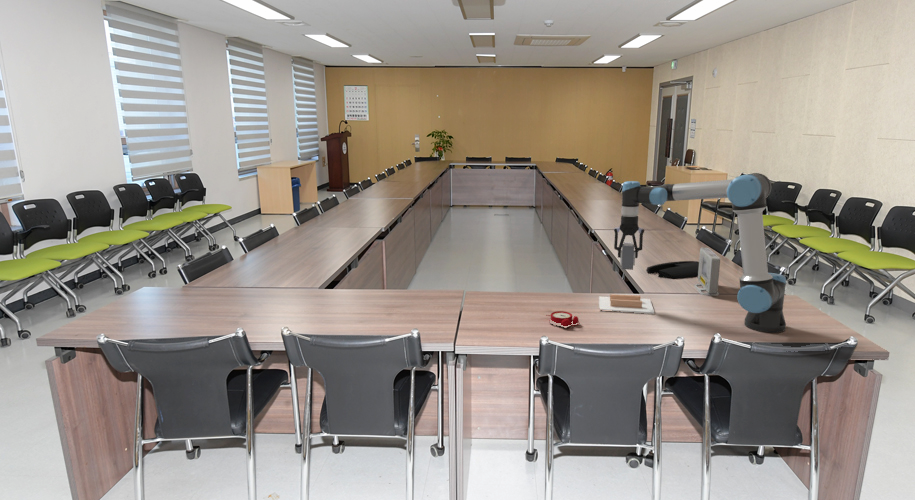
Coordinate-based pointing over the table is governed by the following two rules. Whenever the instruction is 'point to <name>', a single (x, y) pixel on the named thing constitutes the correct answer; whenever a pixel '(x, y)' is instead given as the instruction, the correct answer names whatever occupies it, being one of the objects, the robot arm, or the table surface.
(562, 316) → the alarm clock
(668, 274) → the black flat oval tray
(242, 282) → the table surface
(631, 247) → the connector plug
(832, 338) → the table surface
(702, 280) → the network device
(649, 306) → the end holder
